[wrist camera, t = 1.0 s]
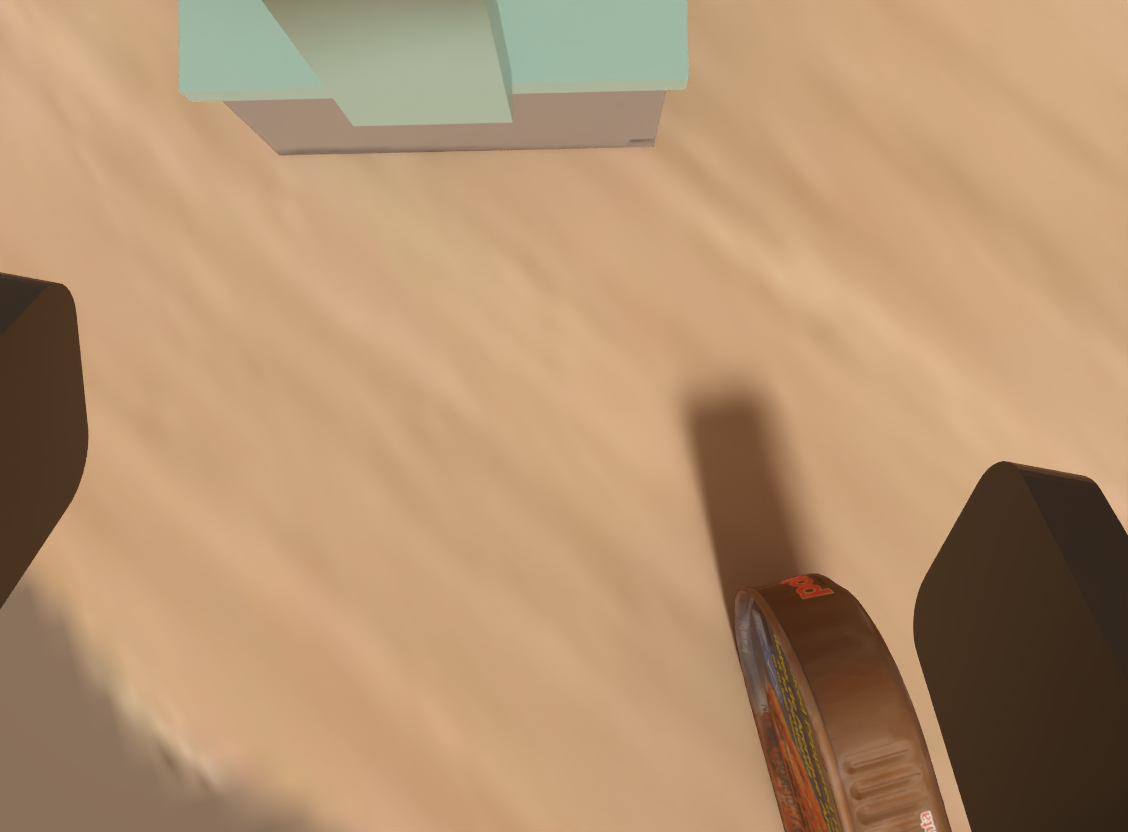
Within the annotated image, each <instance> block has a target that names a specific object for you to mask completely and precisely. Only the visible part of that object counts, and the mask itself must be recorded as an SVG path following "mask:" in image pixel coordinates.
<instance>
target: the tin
mask: <svg viewBox="0 0 1128 832" xmlns="http://www.w3.org/2000/svg"><path fill="white" fill-rule="evenodd" d="M734 611H735V616H734V621H735V634H736V641H737V647H738V653H739V658H740V663H741V667H742V672H743V675H744V678H745V684H746V688H747V692H748V696H749V700H750V704H751V708H752V711H753V715H754V719H755V723H756V726H757V729H758V734H759V737H760V740H761V745H762V748H763V752H764V755H765V758H766V762H767V766H768V770H769V774H770V777H771V781H772V784H773V788H774V792H775V796H776V799H777V803H778V806H779V810H780V814H781V817H782V821H783V825H784V829H785V832H952V831H951V827H950V824H949V821H948V817H947V814H946V810H945V806H944V802H943V799H942V796H941V793H940V790H939V786H938V783H937V779H936V775H935V772H934V769H933V765H932V762H931V759H930V755H929V752H928V748H927V745H926V741H925V738H924V735H923V732H922V729H921V726H920V723H919V721H918V718H917V715H916V712H915V709H914V707H913V704H912V702H911V699H910V696H909V694H908V691H907V689H906V687H905V684H904V682H903V679H902V677H901V674H900V672H899V670H898V667H897V665H896V663H895V661H894V659H893V657H892V655H891V653H890V651H889V649H888V647H887V646H886V644H885V642H884V640H883V638H882V636H881V634H880V632H879V631H878V629H877V628H876V626H875V624H874V623H873V621H872V620H871V618H870V616H869V615H868V614H867V612H866V611H865V609H864V608H863V606H862V605H861V604H860V602H859V601H858V600H857V599H856V598H855V597H854V596H853V595H852V594H851V593H850V592H849V591H848V590H846V589H844V588H843V587H841V586H839V585H838V584H836V583H834V582H833V581H832V580H831V579H829V578H827V577H825V576H823V575H820V574H807V575H802V576H797V577H794V578H790V579H787V580H784V581H780V582H777V583H773V584H770V585H766V586H762V587H759V588H754V589H753V588H750V587H743V588H741V589H739V590H738V592H737V594H736V598H735V607H734Z"/></svg>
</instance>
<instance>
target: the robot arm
mask: <svg viewBox="0 0 1128 832" xmlns="http://www.w3.org/2000/svg"><path fill="white" fill-rule="evenodd" d="M87 450H88V423H87V413H86V404H85V394H84V384H83V374H82V364H81V354H80V345H79V335H78V325H77V315H76V308H75V303H74V300H73V297H72V295H71V293H70V291H69V290H68V288H67V287H66V286H64V285H63V284H60V283H55V282H49V281H44V280H39V279H33V278H28V277H22V276H17V275H12V274H6V273H1V272H0V609H1V607H2V606H3V604H4V603H5V601H6V600H7V598H8V597H9V595H10V594H11V592H12V591H13V589H14V588H15V586H16V585H17V583H18V582H19V580H20V579H21V577H22V576H23V574H24V573H25V571H26V570H27V568H28V567H29V565H30V564H31V562H32V560H33V559H34V557H35V556H36V554H37V553H38V551H39V550H40V548H41V547H42V545H43V544H44V542H45V541H46V539H47V538H48V536H49V535H50V533H51V532H52V530H53V529H54V527H55V526H56V524H57V523H58V521H59V520H60V518H61V517H62V515H63V514H64V512H65V511H66V509H67V508H68V506H69V504H70V503H71V501H72V499H73V497H74V495H75V493H76V491H77V489H78V486H79V484H80V481H81V478H82V475H83V471H84V467H85V463H86V457H87ZM913 631H914V642H915V647H916V651H917V654H918V658H919V661H920V664H921V668H922V671H923V674H924V677H925V681H926V684H927V687H928V690H929V694H930V697H931V700H932V704H933V707H934V710H935V713H936V717H937V720H938V723H939V726H940V730H941V733H942V736H943V739H944V743H945V746H946V749H947V753H948V756H949V759H950V762H951V766H952V769H953V772H954V775H955V779H956V782H957V785H958V789H959V792H960V795H961V798H962V802H963V805H964V808H965V811H966V815H967V818H968V821H969V825H970V828H971V831H972V832H1128V535H1127V533H1126V532H1125V530H1124V528H1123V526H1122V525H1121V523H1120V521H1119V520H1118V518H1117V516H1116V515H1115V513H1114V511H1113V510H1112V508H1111V506H1110V505H1109V503H1108V501H1107V499H1106V498H1105V496H1104V494H1103V493H1102V491H1101V489H1100V488H1099V487H1098V485H1097V484H1096V483H1095V482H1094V481H1093V480H1092V479H1090V478H1088V477H1086V476H1082V475H1076V474H1071V473H1066V472H1060V471H1055V470H1050V469H1044V468H1039V467H1033V466H1028V465H1023V464H1017V463H1012V462H1005V461H1002V462H998V463H996V464H994V465H992V466H991V467H990V468H989V469H988V470H987V471H986V472H985V473H984V474H983V476H982V477H981V479H980V480H979V482H978V484H977V485H976V487H975V489H974V491H973V493H972V494H971V496H970V498H969V500H968V501H967V503H966V505H965V507H964V508H963V510H962V512H961V514H960V516H959V517H958V519H957V521H956V523H955V524H954V526H953V528H952V530H951V531H950V533H949V535H948V537H947V539H946V540H945V542H944V544H943V546H942V547H941V549H940V551H939V553H938V554H937V556H936V558H935V560H934V562H933V563H932V565H931V567H930V569H929V570H928V572H927V574H926V576H925V578H924V580H923V582H922V584H921V586H920V589H919V592H918V596H917V599H916V604H915V610H914V621H913Z"/></svg>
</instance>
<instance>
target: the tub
mask: <svg viewBox="0 0 1128 832" xmlns="http://www.w3.org/2000/svg"><path fill="white" fill-rule="evenodd" d="M665 93H666V90H653V91H612V92H572V93H531V94H512V104H513V123H472V124H430V125H389V126H353V125H352V124H351V122H350V121H349V120H348V118H347V117H346V116H345V114H344V113H343V111H342V110H341V109H340V107H339V106H338V105H337V103H336V102H335V100H334V99H333V98H328V99H287V100H247V101H223V102H224V103H225V104H226V105H227V106H228V107H229V108H230V109H231V110H232V111H233V112H234V113H235V114H236V115H237V116H238V117H240V118H241V119H242V120H243V121H244V122H245V123H246V124H247V125H248V126H249V127H250V128H251V129H252V130H253V131H254V132H255V133H256V134H257V135H259V136H260V137H261V138H262V139H263V140H264V141H265V142H266V143H267V144H268V145H269V146H270V147H271V148H272V149H273V150H274V151H275V152H276V153H278V154H279V155H312V154H355V153H398V152H441V151H483V150H526V149H569V148H612V147H654V143H655V139H656V134H657V130H658V125H659V121H660V116H661V111H662V107H663V102H664V98H665Z"/></svg>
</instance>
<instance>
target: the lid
mask: <svg viewBox="0 0 1128 832" xmlns="http://www.w3.org/2000/svg"><path fill="white" fill-rule="evenodd" d="M688 79H689V73H688V25H687V0H179V92H181V93H182V94H183V95H184V96H185V97H186V98H187V99H189V100H190V101H191V102H206V101H247V100H287V99H328V98H333V99H334V100H335V102H336V103H337V105H338V106H339V107H340V109H341V110H342V111H343V113H344V114H345V116H346V117H347V118H348V120H349V121H350V122H351V124H352V125H353V126H389V125H430V124H472V123H513V104H512V94H531V93H572V92H612V91H653V90H686V86H687V83H688Z"/></svg>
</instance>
